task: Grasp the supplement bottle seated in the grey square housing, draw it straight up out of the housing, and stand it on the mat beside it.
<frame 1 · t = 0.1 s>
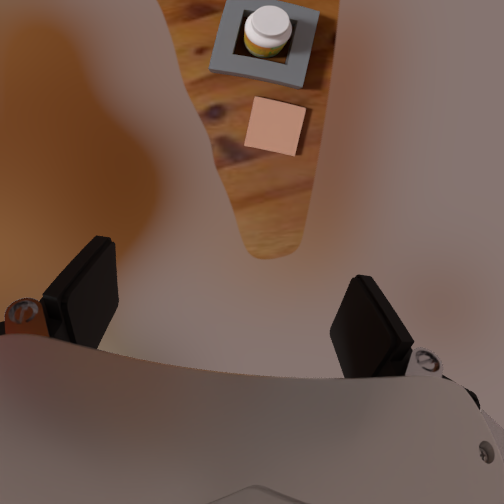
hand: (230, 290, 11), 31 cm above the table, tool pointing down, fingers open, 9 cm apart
supplement bottle: (263, 41, 31), resting in housing
mat: (274, 125, 36), on the table
housing: (263, 41, 31), on the table
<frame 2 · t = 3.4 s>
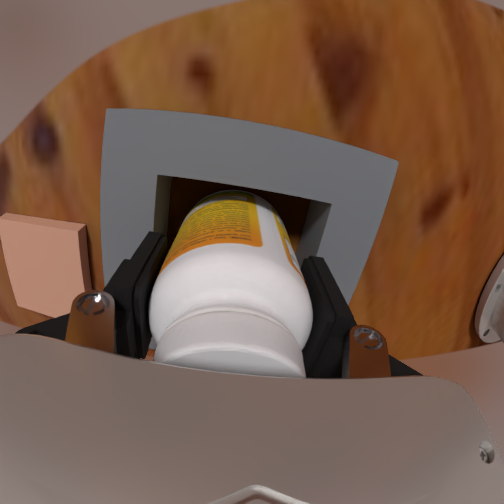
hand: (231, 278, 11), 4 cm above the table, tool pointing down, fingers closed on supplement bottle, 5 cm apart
supplement bottle: (233, 236, 15), resting in housing, touching gripper
mat: (48, 267, 15), on the table
housing: (233, 237, 15), on the table
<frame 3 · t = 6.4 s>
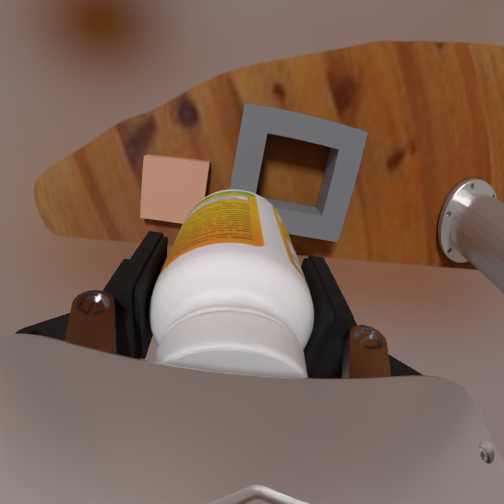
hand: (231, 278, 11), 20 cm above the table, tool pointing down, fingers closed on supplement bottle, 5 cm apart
supplement bottle: (234, 235, 15), point 16 cm above the table, touching gripper
mat: (174, 188, 30), on the table
housing: (291, 170, 29), on the table
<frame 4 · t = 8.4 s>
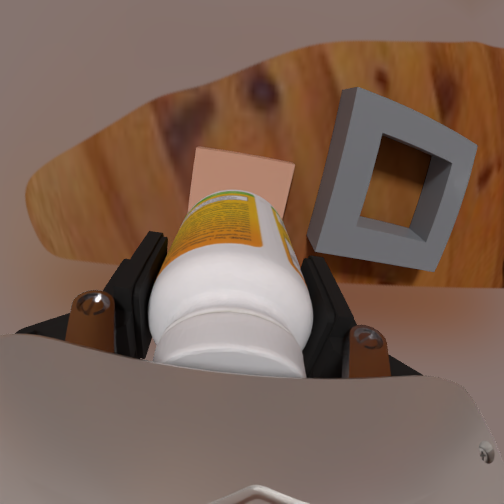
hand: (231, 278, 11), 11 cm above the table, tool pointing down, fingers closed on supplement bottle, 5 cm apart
supplement bottle: (233, 236, 15), point 7 cm above the table, touching gripper
mat: (237, 198, 21), on the table
housing: (390, 182, 21), on the table
when the fingers open (6 cm above the table, at t = 9.8 s): supplement bottle drops 1 cm, resting on mat.
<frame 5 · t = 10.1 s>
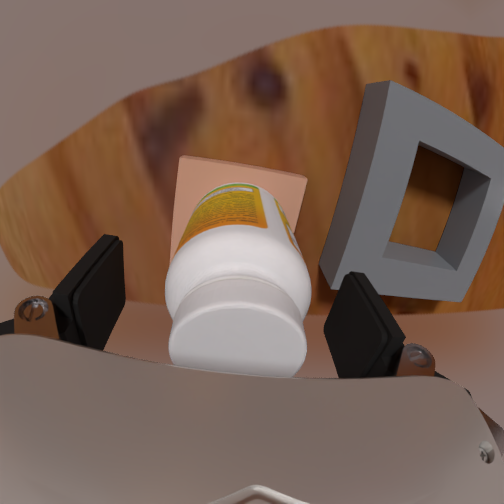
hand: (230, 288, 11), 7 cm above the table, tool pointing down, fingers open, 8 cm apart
supplement bottle: (238, 225, 16), point 1 cm above the table, touching mat
mat: (233, 220, 17), on the table
housing: (419, 199, 17), on the table
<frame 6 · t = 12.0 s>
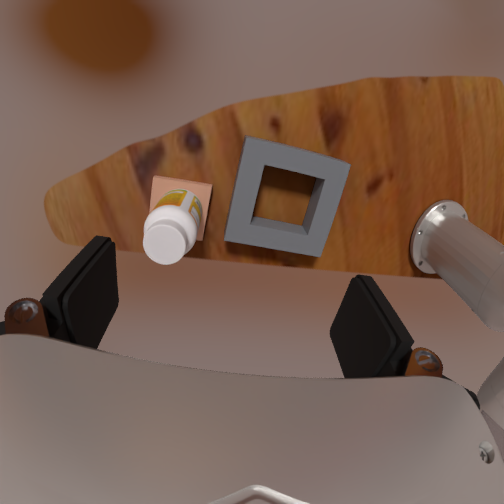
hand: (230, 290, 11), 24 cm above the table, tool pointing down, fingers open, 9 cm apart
supplement bottle: (180, 209, 33), point 1 cm above the table, touching mat
mat: (179, 207, 34), on the table
housing: (282, 194, 34), on the table
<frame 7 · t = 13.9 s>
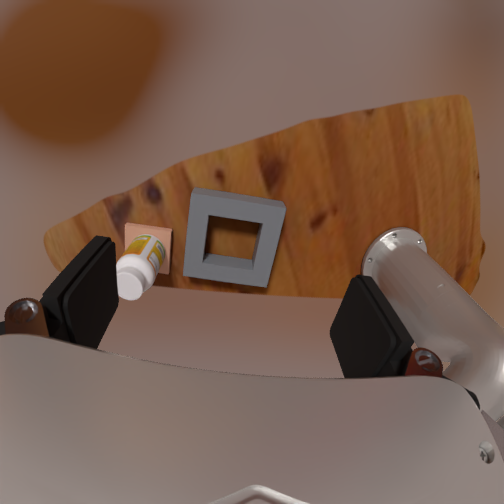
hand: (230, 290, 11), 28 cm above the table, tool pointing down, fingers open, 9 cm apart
supplement bottle: (148, 249, 40), point 1 cm above the table, touching mat
mat: (148, 247, 41), on the table
housing: (232, 234, 40), on the table
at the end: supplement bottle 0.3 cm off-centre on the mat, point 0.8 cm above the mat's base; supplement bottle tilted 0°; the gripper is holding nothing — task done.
